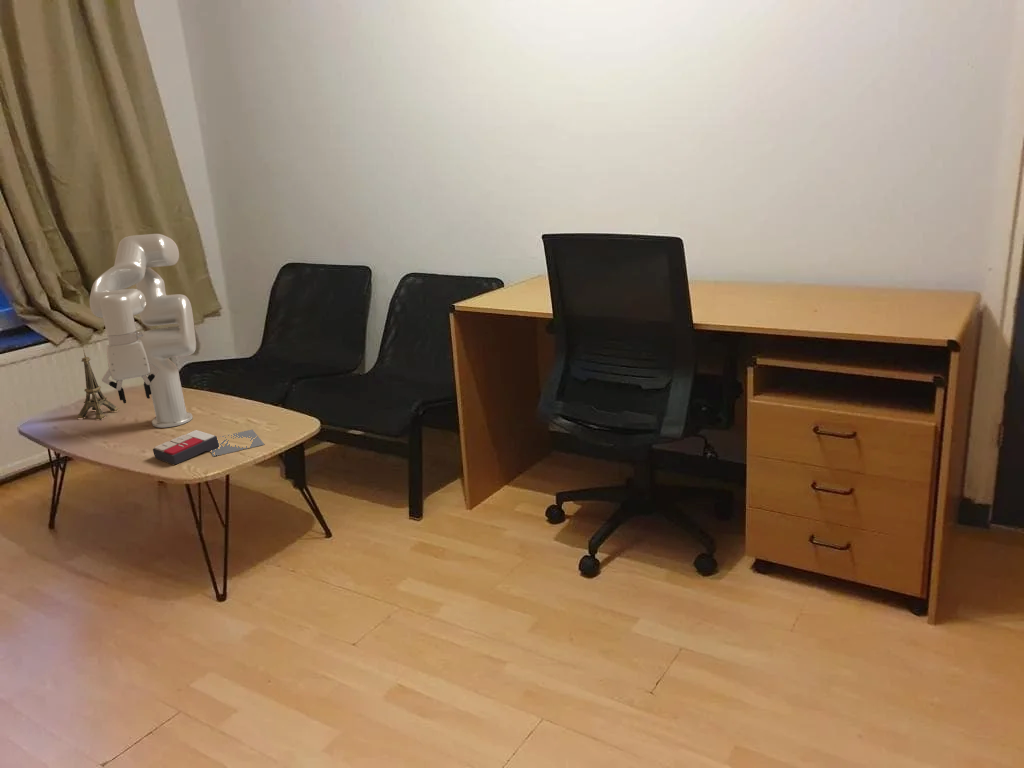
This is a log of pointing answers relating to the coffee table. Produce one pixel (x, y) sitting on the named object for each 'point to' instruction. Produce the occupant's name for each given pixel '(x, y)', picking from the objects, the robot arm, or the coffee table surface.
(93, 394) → the eiffel tower
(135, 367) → the robot arm
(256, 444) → the desk mat
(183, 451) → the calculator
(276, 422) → the coffee table surface
